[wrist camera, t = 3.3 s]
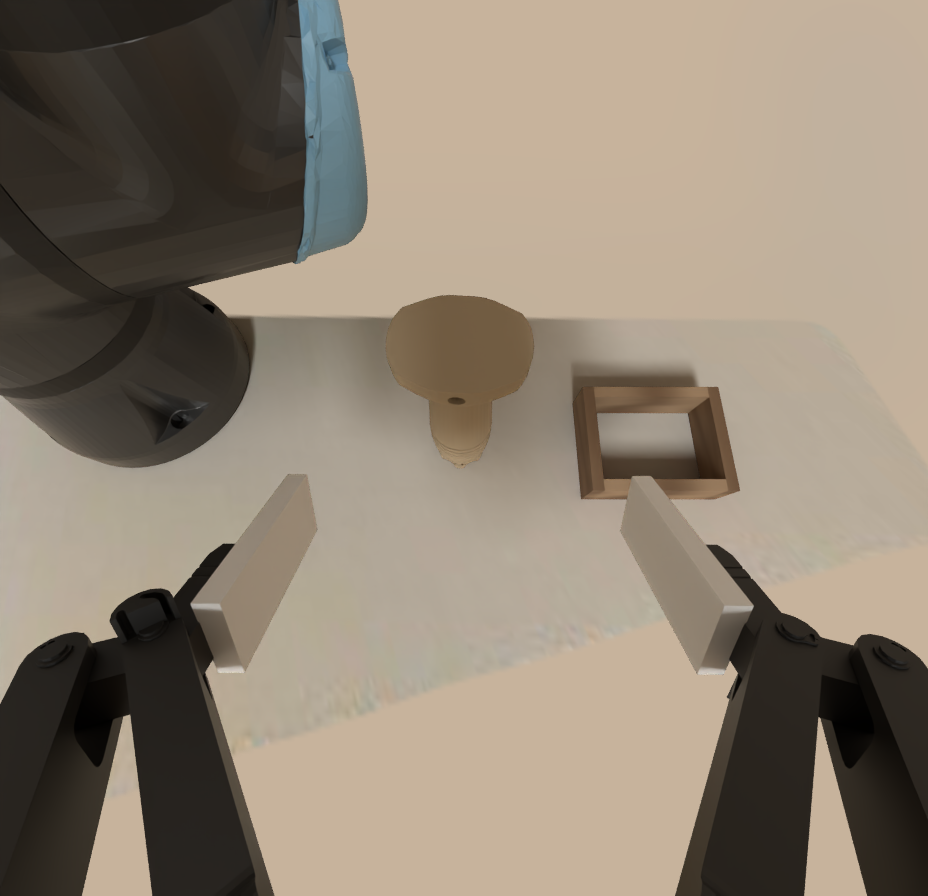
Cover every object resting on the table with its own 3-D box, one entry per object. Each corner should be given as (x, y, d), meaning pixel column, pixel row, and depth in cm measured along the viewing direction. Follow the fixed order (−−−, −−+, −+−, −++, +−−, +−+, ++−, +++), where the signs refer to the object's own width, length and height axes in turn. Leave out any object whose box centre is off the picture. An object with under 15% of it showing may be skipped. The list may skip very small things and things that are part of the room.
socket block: (581, 499, 31) (593, 490, 28) (572, 403, 33) (582, 386, 31) (714, 499, 31) (740, 490, 28) (696, 403, 33) (718, 387, 31)
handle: (422, 418, 33) (392, 292, 19) (503, 422, 33) (534, 299, 19) (417, 477, 31) (379, 388, 17) (501, 482, 31) (533, 397, 17)
